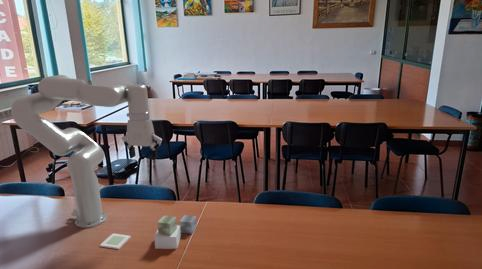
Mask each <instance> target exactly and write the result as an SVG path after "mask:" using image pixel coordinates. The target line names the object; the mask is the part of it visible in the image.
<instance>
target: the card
mask: <svg viewBox="0 0 482 269" xmlns="http://www.w3.org/2000/svg"><path fill="white" fill-rule="evenodd" d="M131 237H132V236H131V235H127V234H121V233H111V234H110V235H109V236H108V237H106V239H105V240H103V241H102V242H101V243H100V244H99V247H100V248H101V247H102V248H103V247H104V248H108V249H114V250H115V249H116V250H120V249H121V248H122V247H123V246H124V245H125V244H126V243H127V242H128V241H129V240H130V239H131Z"/></svg>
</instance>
